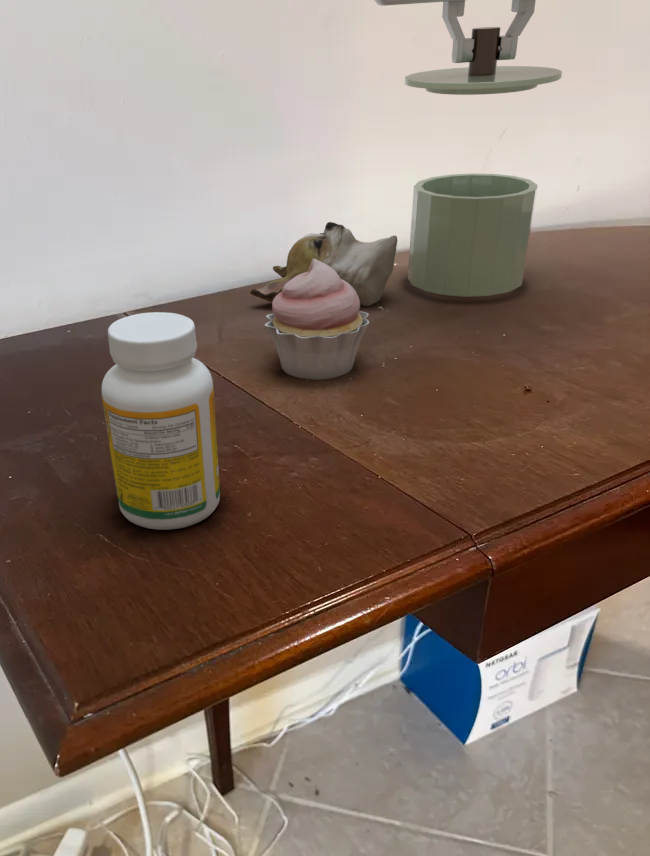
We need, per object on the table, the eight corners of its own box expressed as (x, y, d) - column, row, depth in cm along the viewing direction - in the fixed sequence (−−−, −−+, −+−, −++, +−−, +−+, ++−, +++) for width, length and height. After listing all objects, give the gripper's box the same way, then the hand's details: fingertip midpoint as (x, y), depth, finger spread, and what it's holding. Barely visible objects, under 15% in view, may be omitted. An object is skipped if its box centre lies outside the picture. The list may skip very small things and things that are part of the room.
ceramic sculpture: (389, 232, 78) (242, 237, 83) (389, 320, 83) (250, 320, 88) (405, 208, 87) (270, 213, 91) (404, 289, 91) (276, 290, 96)
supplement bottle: (181, 544, 52) (161, 355, 45) (97, 516, 55) (66, 336, 48) (241, 493, 57) (231, 316, 50) (160, 470, 60) (140, 300, 53)
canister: (504, 265, 98) (516, 170, 92) (537, 298, 87) (553, 194, 82) (399, 270, 98) (405, 176, 92) (419, 304, 88) (427, 201, 82)
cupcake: (281, 347, 79) (279, 241, 73) (377, 355, 76) (382, 246, 71) (251, 386, 72) (246, 272, 66) (355, 396, 69) (359, 278, 63)
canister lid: (531, 76, 79) (538, 20, 76) (583, 91, 68) (593, 26, 65) (392, 85, 79) (394, 29, 77) (420, 101, 68) (424, 37, 65)
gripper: (617, -144, 67) (586, 51, 75) (369, -128, 67) (364, 65, 75) (650, -155, 62) (613, 55, 70) (382, -137, 62) (375, 71, 70)
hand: (482, 61), depth 72 cm, fingers closed on canister lid, 2 cm apart
